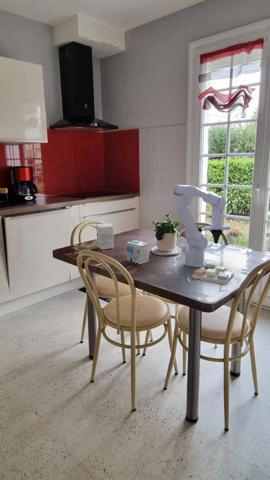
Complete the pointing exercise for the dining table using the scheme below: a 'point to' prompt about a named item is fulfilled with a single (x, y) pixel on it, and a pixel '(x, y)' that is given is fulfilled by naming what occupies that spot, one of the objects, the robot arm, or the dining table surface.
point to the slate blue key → (222, 276)
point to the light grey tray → (213, 277)
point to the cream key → (211, 271)
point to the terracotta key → (199, 272)
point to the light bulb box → (138, 252)
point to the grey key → (209, 266)
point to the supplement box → (105, 236)
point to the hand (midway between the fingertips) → (215, 243)
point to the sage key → (221, 268)
